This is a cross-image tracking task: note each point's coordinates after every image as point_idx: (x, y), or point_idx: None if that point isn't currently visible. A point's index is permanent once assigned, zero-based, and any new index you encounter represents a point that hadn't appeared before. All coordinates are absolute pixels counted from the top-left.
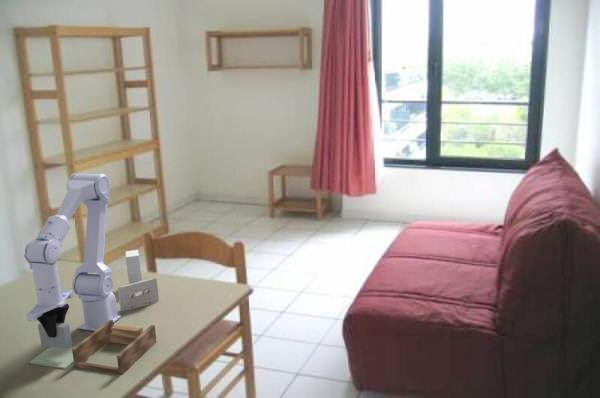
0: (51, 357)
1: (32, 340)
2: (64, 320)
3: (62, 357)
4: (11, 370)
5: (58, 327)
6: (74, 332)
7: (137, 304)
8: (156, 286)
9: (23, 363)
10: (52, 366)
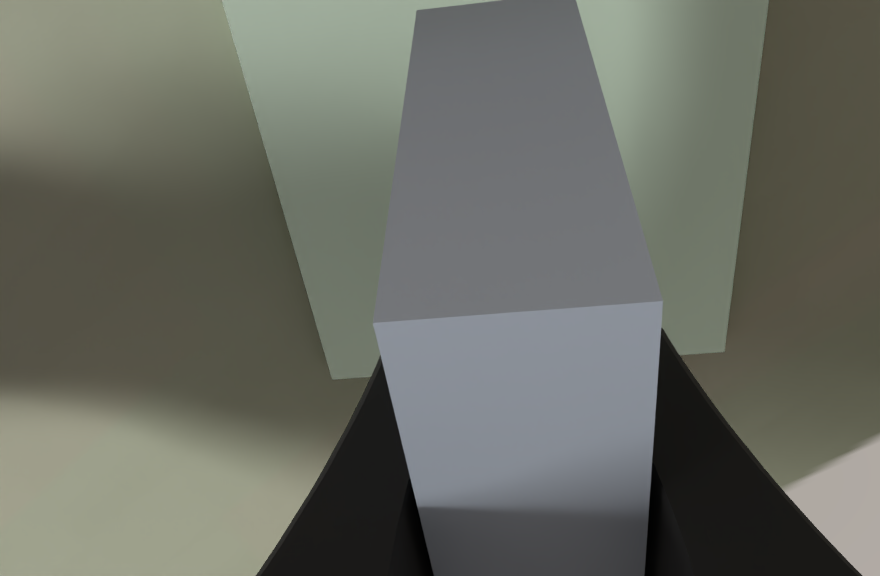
0: None
1: None
2: (295, 533)
3: None
4: (876, 395)
5: (646, 438)
6: (17, 371)
7: None
8: None
9: (730, 388)
10: (759, 42)
